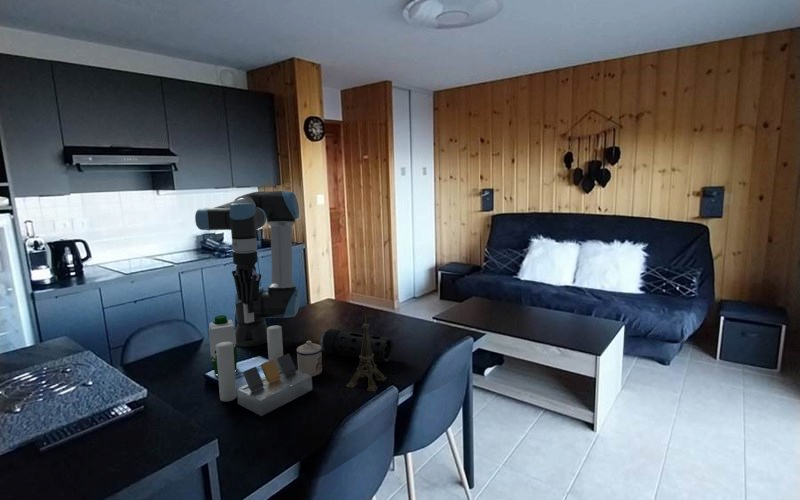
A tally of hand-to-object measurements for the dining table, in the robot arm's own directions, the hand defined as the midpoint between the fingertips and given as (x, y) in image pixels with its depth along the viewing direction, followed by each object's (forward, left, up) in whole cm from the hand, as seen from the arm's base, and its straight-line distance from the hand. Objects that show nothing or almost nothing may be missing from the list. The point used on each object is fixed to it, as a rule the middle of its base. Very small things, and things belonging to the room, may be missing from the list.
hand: (249, 321), depth 143 cm
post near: (0, -9, -23) cm, 25 cm away
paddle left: (+12, -6, -18) cm, 22 cm away
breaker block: (+12, 0, -23) cm, 26 cm away
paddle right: (+12, +7, -18) cm, 23 cm away
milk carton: (-19, +1, -23) cm, 30 cm away
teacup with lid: (+6, +20, -23) cm, 31 cm away
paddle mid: (+12, 0, -18) cm, 22 cm away
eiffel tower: (+29, +25, -23) cm, 45 cm away
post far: (0, +10, -23) cm, 25 cm away
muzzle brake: (+12, +38, -23) cm, 46 cm away
